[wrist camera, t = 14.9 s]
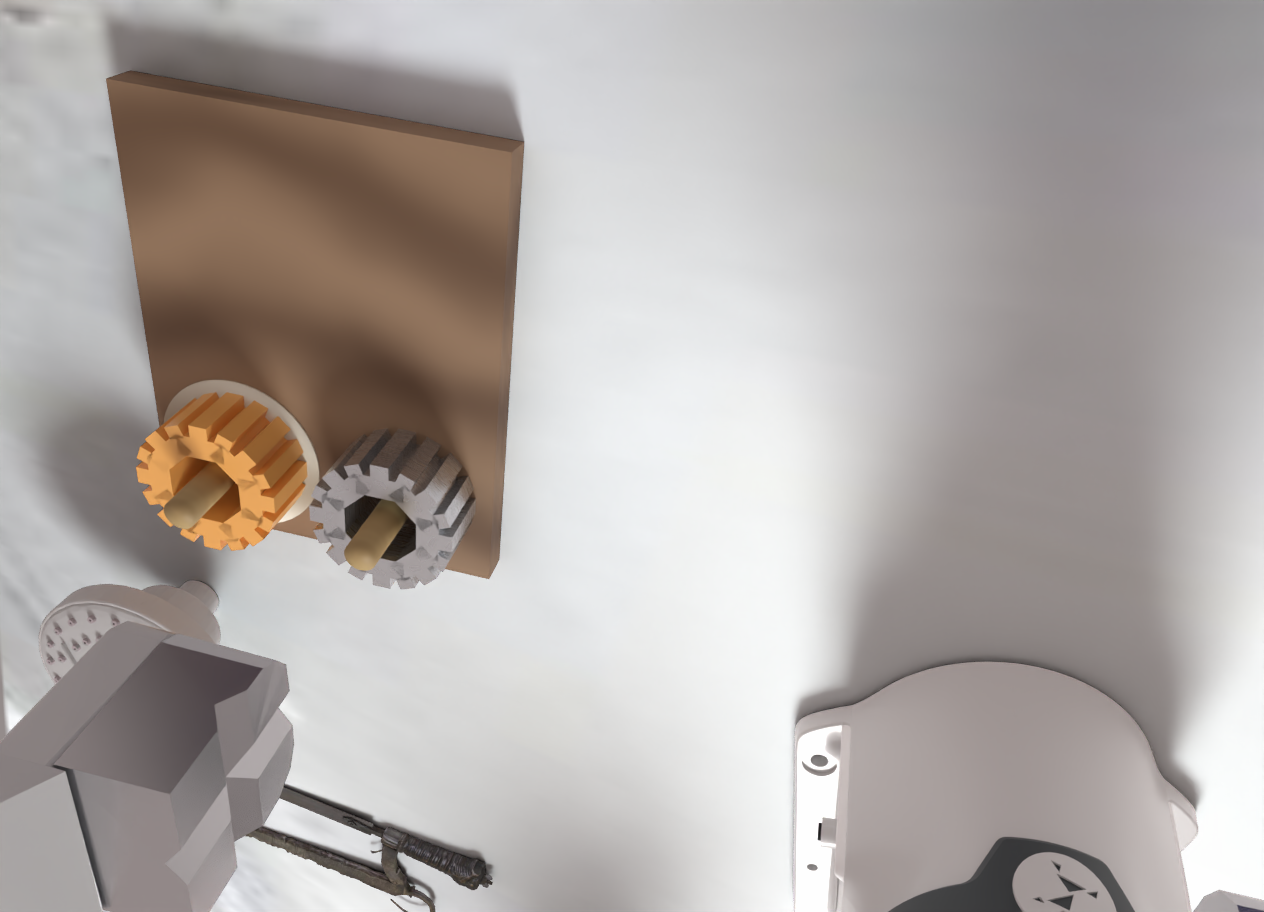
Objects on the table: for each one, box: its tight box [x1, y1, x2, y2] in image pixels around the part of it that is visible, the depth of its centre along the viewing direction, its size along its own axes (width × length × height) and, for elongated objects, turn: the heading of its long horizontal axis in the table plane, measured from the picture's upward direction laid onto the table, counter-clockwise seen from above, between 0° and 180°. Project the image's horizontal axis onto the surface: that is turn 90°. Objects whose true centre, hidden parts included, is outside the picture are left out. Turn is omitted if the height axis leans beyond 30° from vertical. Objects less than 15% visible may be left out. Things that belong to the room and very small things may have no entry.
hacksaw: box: [245, 787, 493, 912], centre depth 64 cm, size 24×10×2 cm, turn 73°
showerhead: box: [39, 580, 221, 684], centre depth 52 cm, size 9×7×10 cm
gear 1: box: [136, 392, 308, 551], centre depth 46 cm, size 6×6×3 cm
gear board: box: [106, 71, 524, 579], centre depth 42 cm, size 20×16×6 cm
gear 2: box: [309, 428, 476, 589], centre depth 45 cm, size 6×6×3 cm
